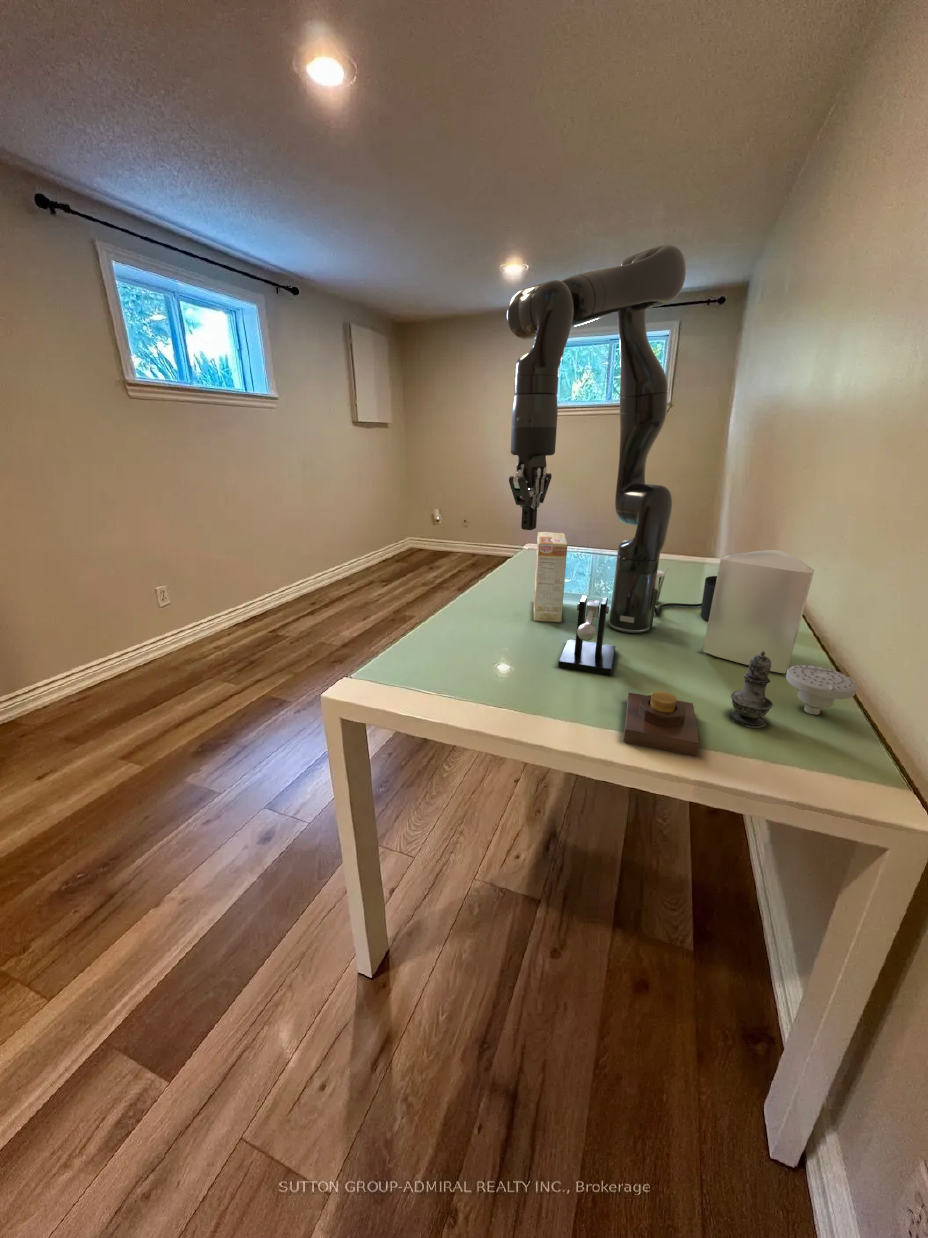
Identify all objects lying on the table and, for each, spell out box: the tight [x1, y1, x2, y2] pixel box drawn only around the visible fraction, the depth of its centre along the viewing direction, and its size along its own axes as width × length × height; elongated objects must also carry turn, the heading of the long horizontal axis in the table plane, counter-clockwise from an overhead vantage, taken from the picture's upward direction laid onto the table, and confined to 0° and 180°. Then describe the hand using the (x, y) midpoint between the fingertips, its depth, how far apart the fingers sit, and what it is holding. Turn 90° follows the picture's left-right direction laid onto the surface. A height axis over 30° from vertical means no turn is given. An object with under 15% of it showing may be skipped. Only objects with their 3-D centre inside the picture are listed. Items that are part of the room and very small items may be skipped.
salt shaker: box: [728, 651, 774, 729], centre depth 77 cm, size 6×6×12 cm
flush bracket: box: [557, 595, 616, 676], centre depth 98 cm, size 12×10×13 cm
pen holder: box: [700, 575, 717, 622], centre depth 122 cm, size 9×9×10 cm
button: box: [650, 691, 677, 713], centre depth 75 cm, size 4×4×2 cm
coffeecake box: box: [533, 531, 568, 623], centre depth 124 cm, size 15×7×20 cm, turn 172°
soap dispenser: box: [702, 549, 815, 675], centre depth 99 cm, size 15×14×22 cm
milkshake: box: [655, 567, 670, 605], centre depth 134 cm, size 4×5×10 cm
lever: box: [576, 599, 601, 642], centre depth 92 cm, size 13×3×3 cm, turn 160°
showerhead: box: [785, 664, 858, 716], centre depth 80 cm, size 9×7×10 cm
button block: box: [622, 692, 700, 757], centre depth 76 cm, size 12×10×4 cm
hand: (528, 529), depth 88 cm, fingers closed
